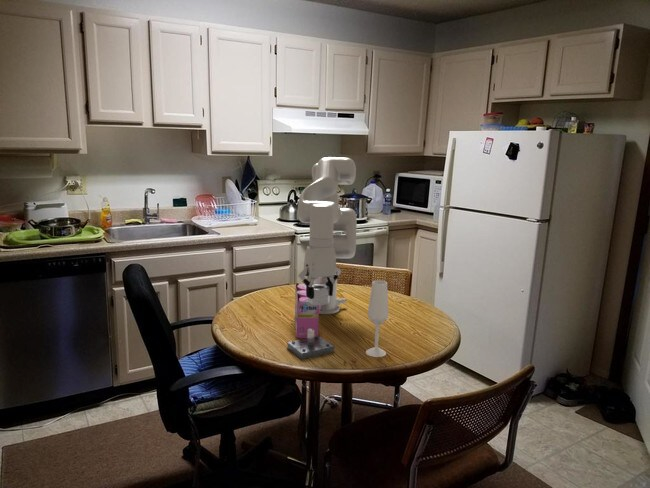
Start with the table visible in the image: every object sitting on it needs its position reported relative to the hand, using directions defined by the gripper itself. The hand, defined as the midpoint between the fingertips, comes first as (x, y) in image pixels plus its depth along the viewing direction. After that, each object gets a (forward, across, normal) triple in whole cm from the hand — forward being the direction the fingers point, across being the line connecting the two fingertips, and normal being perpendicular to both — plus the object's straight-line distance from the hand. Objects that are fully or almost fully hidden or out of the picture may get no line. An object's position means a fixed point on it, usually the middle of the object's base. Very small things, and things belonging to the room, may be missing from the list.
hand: (319, 295), depth 156 cm
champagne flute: (+18, -15, +12) cm, 27 cm away
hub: (+2, 0, 0) cm, 2 cm away
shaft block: (+18, +3, 0) cm, 18 cm away
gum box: (+18, -6, -19) cm, 27 cm away
